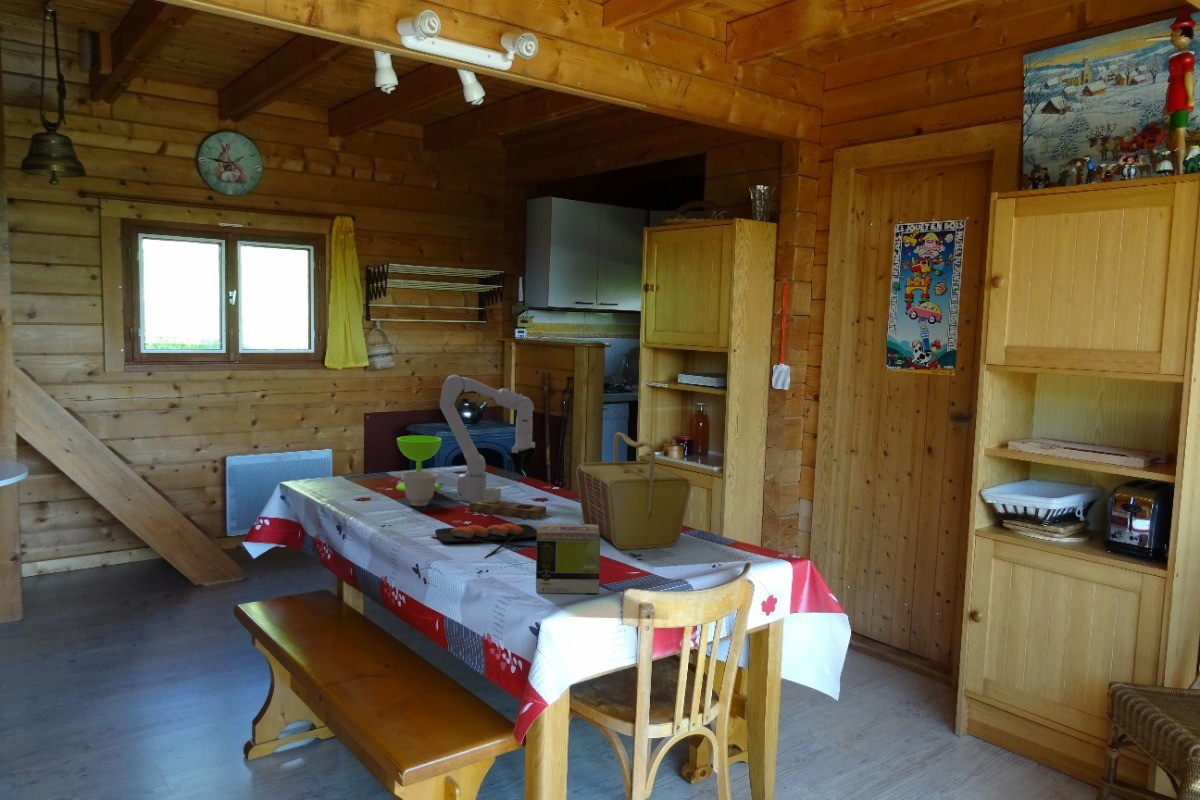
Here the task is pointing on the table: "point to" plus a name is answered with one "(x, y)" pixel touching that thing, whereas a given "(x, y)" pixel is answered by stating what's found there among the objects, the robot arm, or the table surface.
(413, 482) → the teacup
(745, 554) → the table surface
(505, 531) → the sushi plate
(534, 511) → the wooden compartment tray
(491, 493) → the beige rectangular block
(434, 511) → the table surface
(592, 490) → the picnic basket
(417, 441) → the wineglass
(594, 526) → the tea box
